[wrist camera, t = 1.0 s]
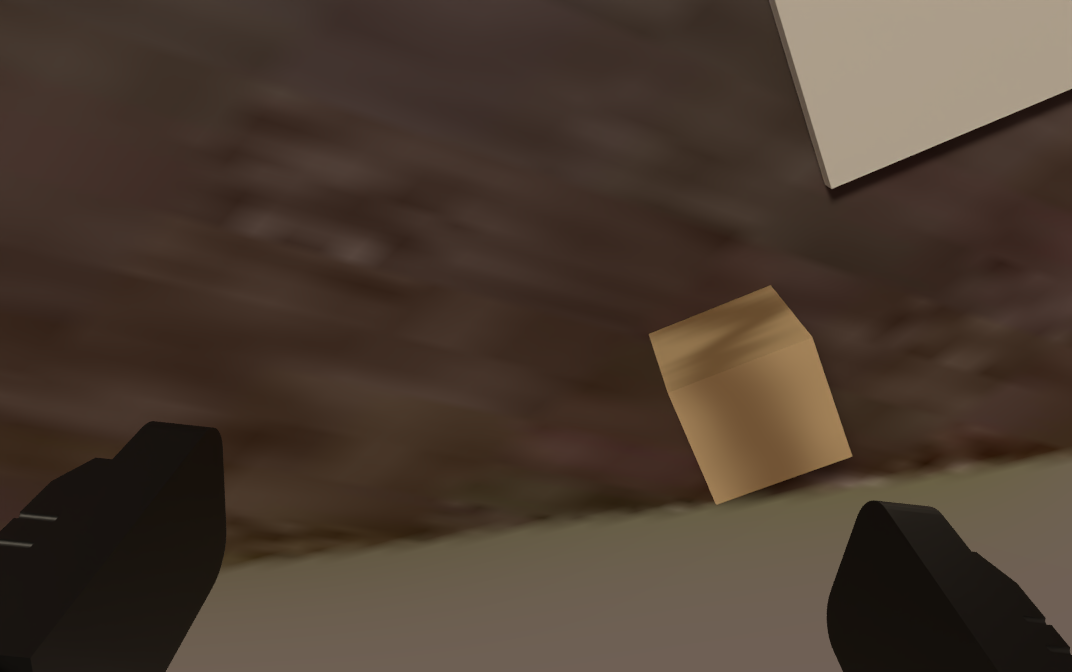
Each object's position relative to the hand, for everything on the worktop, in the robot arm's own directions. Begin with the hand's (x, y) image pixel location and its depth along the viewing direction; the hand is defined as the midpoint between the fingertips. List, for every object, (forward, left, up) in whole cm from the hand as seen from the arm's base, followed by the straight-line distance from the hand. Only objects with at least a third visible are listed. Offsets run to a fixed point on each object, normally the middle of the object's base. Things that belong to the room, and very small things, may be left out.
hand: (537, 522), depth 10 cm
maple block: (-4, +11, -23) cm, 26 cm away
